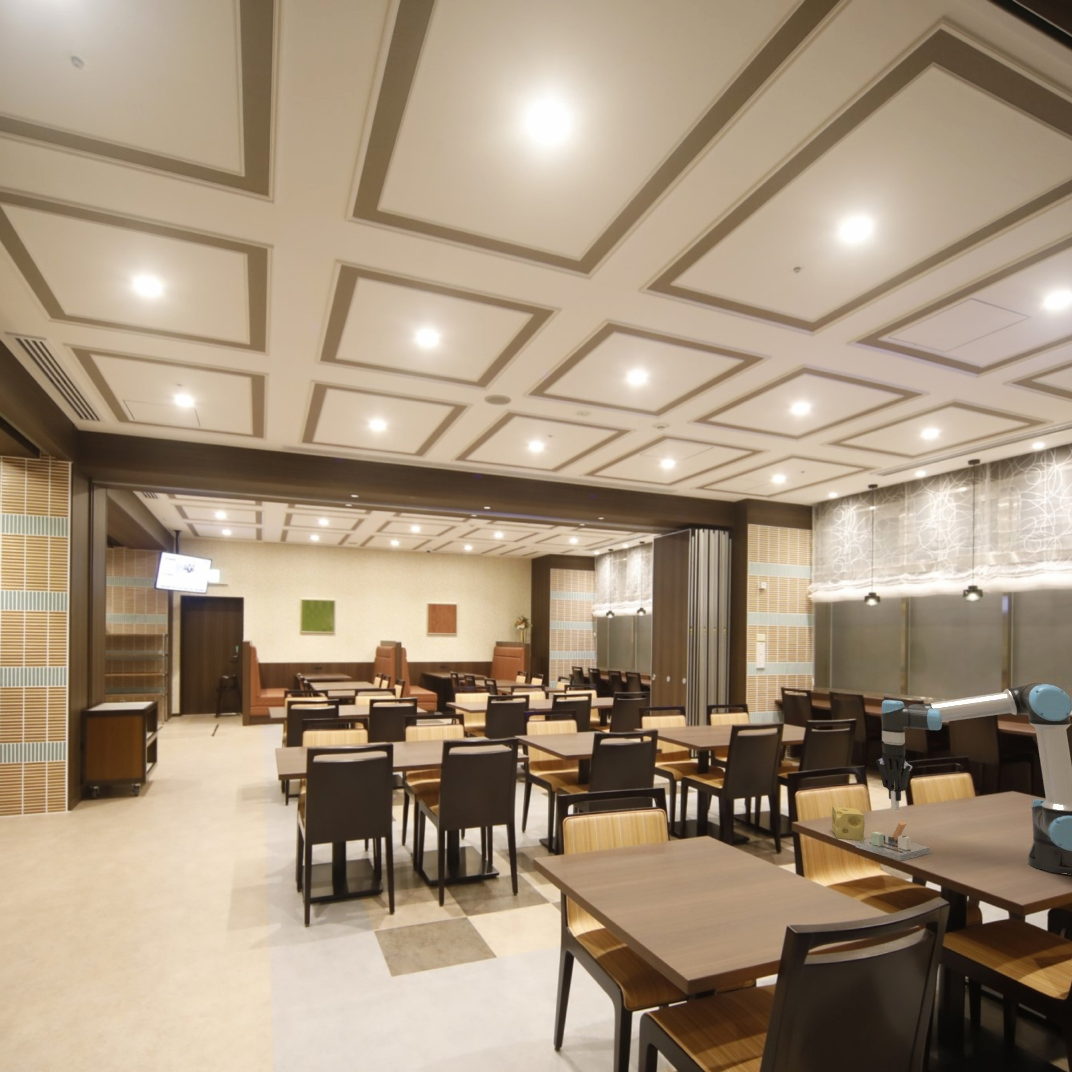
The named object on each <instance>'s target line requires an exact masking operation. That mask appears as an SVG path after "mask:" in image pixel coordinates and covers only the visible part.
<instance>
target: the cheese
mask: <svg viewBox="0 0 1072 1072" xmlns="http://www.w3.org/2000/svg"><path fill="white" fill-rule="evenodd" d="M865 823H866V822H865V815H864V813H862V812H861V811H860V810H859V809H858V808H853V807H841V806H840V807H839V806H832V807H831V830H832V833H833V834H834V835H835V838H836V839H842V840H843V839H844V840H852V841H860V840H864V834H865V828H866V825H865Z"/></svg>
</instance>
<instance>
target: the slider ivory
mask: <svg viewBox="0 0 1072 1072" xmlns="http://www.w3.org/2000/svg"><path fill="white" fill-rule="evenodd" d="M910 842H911V837H909V836H907V835H902V834H901V836H898V848H900V849H904V850H909V849H911V844H910Z"/></svg>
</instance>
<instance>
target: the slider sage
mask: <svg viewBox="0 0 1072 1072" xmlns="http://www.w3.org/2000/svg"><path fill="white" fill-rule="evenodd" d="M870 835H871V837H870V838H871V844H873V845H877V846H883V845H884V835H885V834H884V833H882V832H880V831H873V832H871V834H870Z"/></svg>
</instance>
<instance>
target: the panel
mask: <svg viewBox="0 0 1072 1072" xmlns="http://www.w3.org/2000/svg"><path fill="white" fill-rule="evenodd" d="M854 844H855V847H854V848H857V849H860V850H864V851H867V852H870V853H873V854H875V855H879V856H882V857H887V858H889V859H893V860H895V861H900V862H903V861H907V860H910V859H914V858H916V857H921V856H925V855H929V854H930V853H931V852H930V850H931V848H930V846H926V845H922V844H919V843H915V842H912V841H910V844H911V849H909V850H904V849H900V848H898V841H895V842H894V837H893V836H891V835H887V834H884V845H883V846H877V845H873V844H871V837H869V838H865V839H864V838H863V840H860V841H858V840H855V843H854Z"/></svg>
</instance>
